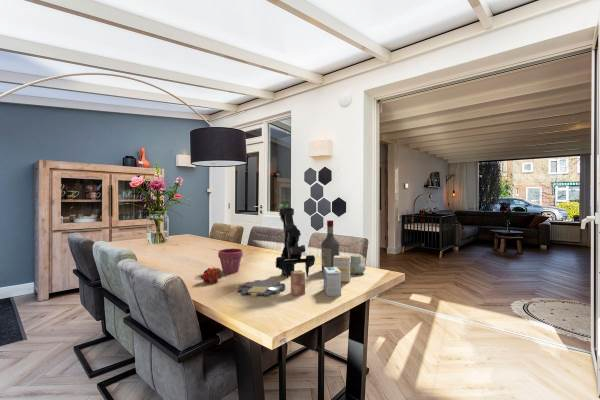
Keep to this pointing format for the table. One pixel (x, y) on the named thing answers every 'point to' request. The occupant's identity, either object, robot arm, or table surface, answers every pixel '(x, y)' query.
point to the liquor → (329, 247)
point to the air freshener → (356, 265)
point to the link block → (297, 282)
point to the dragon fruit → (211, 275)
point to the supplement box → (343, 267)
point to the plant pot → (230, 260)
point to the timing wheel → (261, 288)
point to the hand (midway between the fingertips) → (297, 276)
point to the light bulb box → (332, 281)
